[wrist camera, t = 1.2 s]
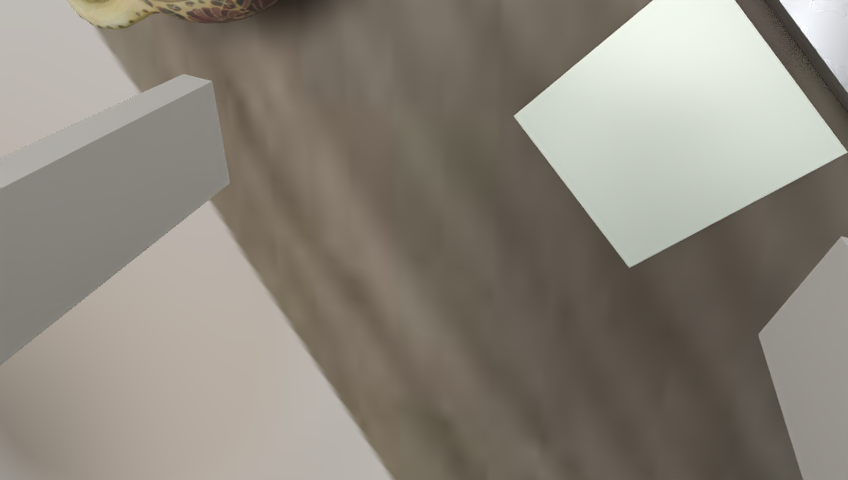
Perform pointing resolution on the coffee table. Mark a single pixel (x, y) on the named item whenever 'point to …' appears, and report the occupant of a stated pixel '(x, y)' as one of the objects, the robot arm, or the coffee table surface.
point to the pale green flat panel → (676, 125)
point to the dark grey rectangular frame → (820, 37)
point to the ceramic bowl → (165, 10)
